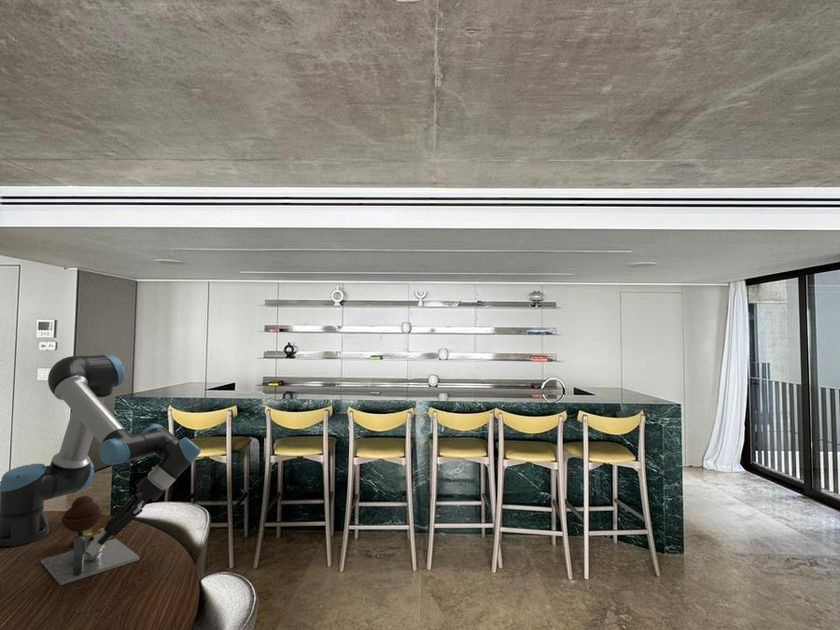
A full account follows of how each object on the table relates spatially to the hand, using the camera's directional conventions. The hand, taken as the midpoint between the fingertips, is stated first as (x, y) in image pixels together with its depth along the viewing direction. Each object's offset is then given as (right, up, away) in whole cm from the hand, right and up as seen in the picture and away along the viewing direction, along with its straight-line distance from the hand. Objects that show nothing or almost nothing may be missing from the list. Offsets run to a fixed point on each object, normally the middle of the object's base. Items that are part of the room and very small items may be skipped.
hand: (89, 552), depth 139 cm
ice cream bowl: (-16, -7, +20) cm, 27 cm away
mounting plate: (-5, -6, +7) cm, 11 cm away
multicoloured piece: (-4, -5, +4) cm, 7 cm away
